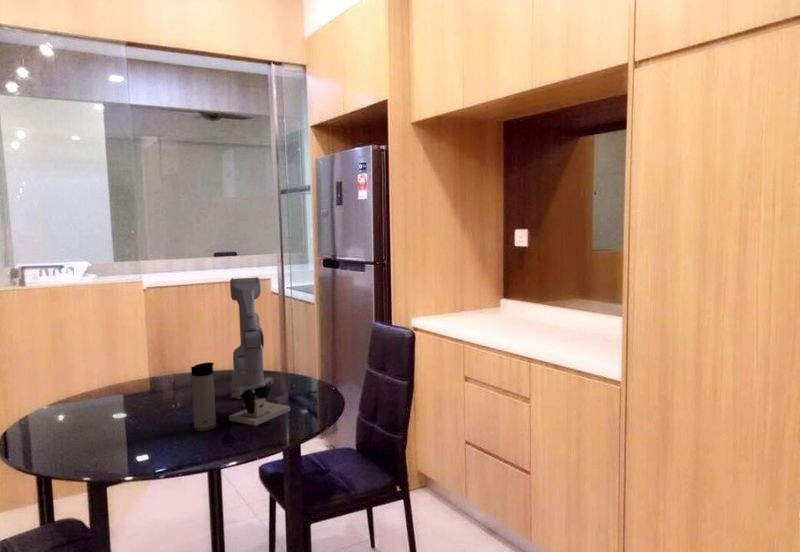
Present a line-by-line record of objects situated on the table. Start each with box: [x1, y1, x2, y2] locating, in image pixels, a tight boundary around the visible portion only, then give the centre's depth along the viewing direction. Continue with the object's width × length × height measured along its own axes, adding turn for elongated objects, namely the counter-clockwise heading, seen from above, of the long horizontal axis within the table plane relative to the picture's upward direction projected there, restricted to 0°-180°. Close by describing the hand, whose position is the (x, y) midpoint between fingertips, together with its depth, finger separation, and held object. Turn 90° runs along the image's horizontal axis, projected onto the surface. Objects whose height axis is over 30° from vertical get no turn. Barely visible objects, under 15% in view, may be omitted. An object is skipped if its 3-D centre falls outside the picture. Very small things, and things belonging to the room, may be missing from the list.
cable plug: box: [272, 395, 287, 405], centre depth 190 cm, size 10×2×2 cm, turn 150°
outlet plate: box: [228, 402, 291, 427], centre depth 179 cm, size 11×16×2 cm
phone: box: [242, 394, 279, 408], centre depth 192 cm, size 6×12×1 cm, turn 150°
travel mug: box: [190, 362, 217, 432], centre depth 168 cm, size 6×7×20 cm
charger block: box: [248, 397, 266, 417], centre depth 176 cm, size 4×4×6 cm
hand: (255, 411), depth 176 cm, fingers closed on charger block, 4 cm apart
